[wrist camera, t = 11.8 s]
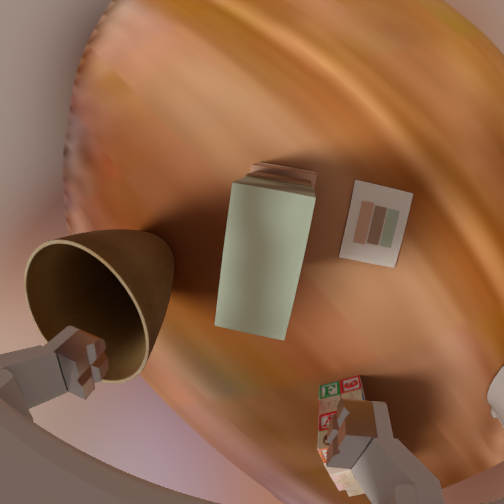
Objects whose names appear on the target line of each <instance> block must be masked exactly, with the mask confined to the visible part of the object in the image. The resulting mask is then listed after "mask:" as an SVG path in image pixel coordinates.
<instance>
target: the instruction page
mask: <svg viewBox="0 0 504 504" xmlns="http://www.w3.org/2000/svg"><path fill="white" fill-rule="evenodd" d="M412 197H413V193H409V192H406V191H402V190H398V189H394V188H390V187H385V186H381V185H377V184H373V183H368V182H364V181H359V180H355V183H354V188H353V193H352V198H351V203H350V208H349V213H348V218H347V222H346V227H345V232H344V236H343V241H342V245H341V249H340V254H339V257H340V258H345V259H350V260H356V261H361V262H366V263H371V264H377V265H382V266H387V267H392V268H395V264H396V261H397V257H398V254H399V250H400V246H401V243H402V239H403V235H404V231H405V227H406V223H407V219H408V215H409V210H410V206H411V202H412Z"/></svg>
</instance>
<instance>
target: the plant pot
mask: <svg viewBox="0 0 504 504" xmlns="http://www.w3.org/2000/svg"><path fill="white" fill-rule="evenodd" d="M173 278H174V256H173V253H172V251H171V249H170V247H169V246H168V244H167V243H166V242H165V241H164V240H163V239H162V238H161V237H159V236H157V235H155V234H153V233H149V232H144V231H138V230H101V231H92V232H86V233H80V234H75V235H71V236H67V237H63V238H59V239H55V240H51V241H48V242H46V243H43V244H42V245H40V246H39V247H38V248H37V249H36V250H35V251H34V252H33V253H32V255H31V256H30V258H29V260H28V262H27V266H26V269H25V276H24V288H25V296H26V301H27V305H28V308H29V311H30V314H31V316H32V319H33V321H34V323H35V325H36V327H37V329H38V331H39V332H40V334H41V335H42V337H43V339H44V340H45V341H46V343H48V342H49V341H50V340H52V339H53V338H54V337H55V336H56V335H58V334H59V333H60V332H61V331H62V330H64V329H65V328H66V327H67V326H73V327H76V328H78V329H80V330H83V331H85V332H88V333H90V334H92V335H95V336H97V337H99V338H102V339H103V340H104V341H105V344H106V349H105V350H104V353H105V354H106V356H107V357H108V362H109V364H108V371H107V373H106V376H105V377H104V378H103V380H102V381H101V382H106V383H121V382H126V381H129V380H131V379H133V378H135V377H136V376H137V375H138V374H140V372H141V371H142V370H143V368H144V367H145V365H146V362H147V360H148V358H149V356H150V353H151V351H152V349H153V346H154V344H155V341H156V339H157V336H158V334H159V331H160V329H161V326H162V323H163V320H164V317H165V314H166V311H167V307H168V303H169V300H170V295H171V290H172V285H173Z"/></svg>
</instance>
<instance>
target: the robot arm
mask: <svg viewBox="0 0 504 504" xmlns="http://www.w3.org/2000/svg"><path fill="white" fill-rule="evenodd" d="M105 349H106V344H105V341H104V340H103V339H102V338H99V337H97V336H95V335H92V334H90V333H88V332H85V331H83V330H80V329H78V328H76V327H73V326H67V327H66V328H65V329H64V330H62V331H61V332H60V333H59V334H58V335H56V336H55V337H54V338H53V339H52V340H50V341H49V342H48V343H47V344H46V345H44V346H41V345H39V346H35V347H31V348H27V349H22V350H18V351H13V352H9V353H5V354H0V504H219V503H215V502H211V501H207V500H204V499H200V498H196V497H193V496H190V495H187V494H183V493H180V492H177V491H174V490H171V489H168V488H165V487H162V486H160V485H157V484H154V483H151V482H149V481H146V480H144V479H141V478H138V477H136V476H133V475H131V474H129V473H126V472H124V471H122V470H119V469H117V468H115V467H113V466H111V465H109V464H106V463H104V462H102V461H100V460H98V459H96V458H94V457H92V456H90V455H88V454H86V453H84V452H82V451H81V450H79V449H77V448H75V447H73V446H72V445H70V444H68V443H66V442H64V441H63V440H61V439H59V438H58V437H56V436H54V435H53V434H51V433H50V432H48V431H46V430H45V429H43V428H42V427H40V426H39V425H37V424H36V423H34V422H33V418H32V416H31V414H30V412H29V410H28V409H30V408H32V407H35V406H37V405H39V404H41V403H44V402H46V401H49V400H51V399H53V398H55V397H58V396H60V395H62V394H65V393H67V391H68V392H70V393H73V394H75V395H77V396H79V397H81V398H83V399H87V398H88V396H89V395H90V394H91V393H92V391H93V390H94V389H95V383H96V382H100V381H102V380H103V378H104V377H105V376H106V373H107V371H108V364H109V362H108V357H107V356H106V354H105V353H104V350H105ZM487 399H488V403H489V404H490V406H491V415H492V417H493V418H498V419H499V421H500V422H501V424H502V425H503V427H504V366H503V367H502V368H501V370H500V371H499V372H498V374H497V375H496V376H495V378H494V380H493V381H492V383H491V385H490V388H489V391H488V396H487ZM327 442H328V443H329V444H330V446H329V448H328V449H327V457H326V467H333V468H343V469H351V472H352V473H353V475H354V476H355V478H356V479H357V481H358V483H359V484H360V486H361V487H362V489H363V490H364V492H365V493H366V495H367V497H368V498H369V500H370V501H371V503H372V504H444V500H443V495H442V490H441V485H440V481H439V480H438V479H437V478H436V477H435V476H434V475H433V474H432V473H431V472H430V471H429V470H428V469H427V468H426V467H425V466H424V465H423V464H422V463H421V462H420V461H419V460H418V459H417V458H416V457H415V456H414V455H413V454H412V453H411V452H410V451H409V450H408V449H407V448H406V447H405V446H404V445H403V444H402V443H401V442H400V441H399V440H398V439H394V438H393V433H392V428H391V423H390V418H389V413H388V408H387V404H386V403H385V402H378V401H365V400H354V399H345V398H341V399H340V401H339V403H338V405H337V413H335V414H333V415H332V417H331V420H330V422H329V426H328V430H327ZM482 504H504V497H502V498H499V499H496V500H492V501H489V502H485V503H482Z"/></svg>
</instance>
